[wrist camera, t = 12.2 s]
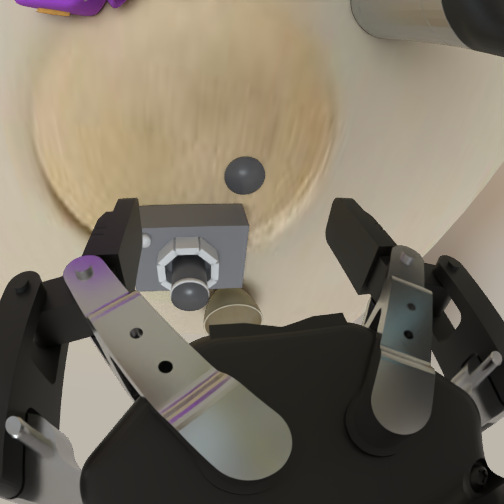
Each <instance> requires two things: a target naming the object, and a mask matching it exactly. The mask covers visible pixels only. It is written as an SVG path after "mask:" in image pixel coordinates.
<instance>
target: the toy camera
mask: <svg viewBox="0 0 504 504" xmlns="http://www.w3.org/2000/svg"><path fill="white" fill-rule="evenodd" d="M15 1H16V3H18V4H20V5H23V6H27V7H32V8H38V9H37V12H41V13H46V14H52V15H61V16H69V15H70V14H76V15H83V16H92V15H95V14H97V13H98V12H99V11H100V10H101V8H102V7H103V5H104V3H105V2H106V0H15ZM107 1H108V2H109V4H110V5H111V6H112V7H113V8H118V7H120V6H121V5H122V4H123V3H124V2H125V1H126V0H107Z"/></svg>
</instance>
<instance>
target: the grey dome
mask: <svg viewBox="0 0 504 504" xmlns="http://www.w3.org/2000/svg"><path fill="white" fill-rule="evenodd" d="M264 179H265V171H264V168H263V166H262V164H261V163H260V162H259V161H258V160H256V159H255V158H252V157H240V158H237V159H235V160H233V161H232V162H231V163H230V164H229V165H228V167H227V168H226V171H225V182H226V184H227V186H228V188H229V189H230V190H231V191H233V192H234V193H237V194H242V195H245V194H250V193H253V192H255V191H256V190H258V189H259V188H260V187H261V185H262V184H263V182H264Z"/></svg>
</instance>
